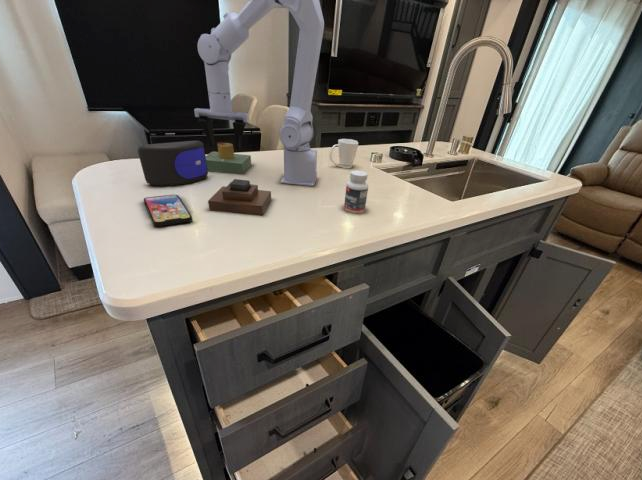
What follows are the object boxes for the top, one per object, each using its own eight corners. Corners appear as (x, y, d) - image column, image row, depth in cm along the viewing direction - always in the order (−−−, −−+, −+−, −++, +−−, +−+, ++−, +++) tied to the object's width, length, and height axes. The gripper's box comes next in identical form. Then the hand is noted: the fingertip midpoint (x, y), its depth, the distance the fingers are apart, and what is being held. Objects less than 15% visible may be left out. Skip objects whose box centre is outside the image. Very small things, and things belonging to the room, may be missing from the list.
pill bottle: (339, 208, 80) (343, 171, 75) (353, 203, 83) (358, 168, 78) (355, 215, 77) (359, 177, 72) (369, 210, 80) (374, 174, 75)
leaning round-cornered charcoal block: (152, 190, 79) (141, 148, 73) (145, 184, 81) (134, 144, 76) (214, 180, 89) (209, 142, 83) (206, 175, 91) (201, 139, 85)
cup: (359, 168, 110) (362, 143, 105) (334, 170, 106) (336, 144, 101) (349, 163, 115) (351, 138, 110) (324, 164, 111) (326, 138, 106)
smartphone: (177, 194, 76) (193, 217, 66) (178, 197, 76) (193, 221, 67) (142, 197, 72) (153, 223, 63) (143, 201, 73) (154, 227, 63)
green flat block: (251, 165, 103) (250, 154, 101) (242, 174, 95) (241, 163, 93) (213, 161, 103) (212, 150, 101) (202, 170, 95) (200, 158, 93)
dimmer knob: (236, 156, 99) (234, 142, 96) (231, 159, 95) (230, 145, 93) (221, 154, 99) (220, 141, 96) (216, 158, 95) (215, 144, 93)
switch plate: (271, 199, 81) (270, 183, 78) (262, 215, 73) (261, 198, 70) (223, 195, 80) (221, 178, 78) (209, 210, 72) (206, 192, 70)
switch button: (250, 187, 76) (249, 180, 75) (246, 193, 73) (245, 185, 72) (235, 186, 76) (234, 178, 75) (230, 191, 73) (229, 183, 72)
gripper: (249, 94, 90) (253, 146, 98) (198, 88, 90) (205, 141, 98) (243, 96, 85) (247, 151, 93) (187, 90, 84) (196, 146, 93)
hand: (225, 147), depth 95 cm, fingers open, 7 cm apart
